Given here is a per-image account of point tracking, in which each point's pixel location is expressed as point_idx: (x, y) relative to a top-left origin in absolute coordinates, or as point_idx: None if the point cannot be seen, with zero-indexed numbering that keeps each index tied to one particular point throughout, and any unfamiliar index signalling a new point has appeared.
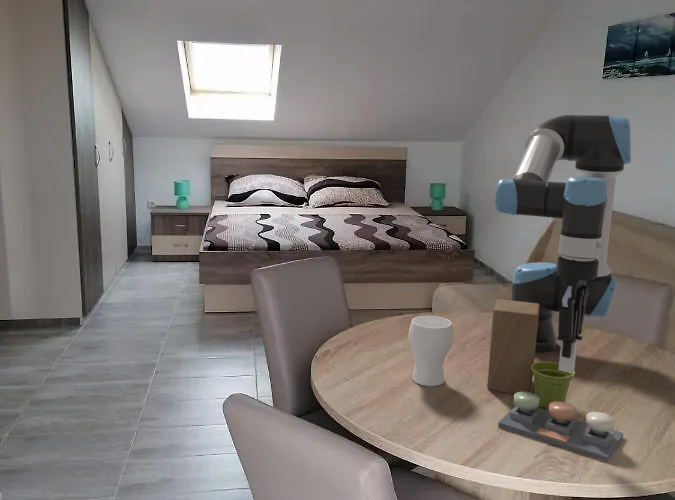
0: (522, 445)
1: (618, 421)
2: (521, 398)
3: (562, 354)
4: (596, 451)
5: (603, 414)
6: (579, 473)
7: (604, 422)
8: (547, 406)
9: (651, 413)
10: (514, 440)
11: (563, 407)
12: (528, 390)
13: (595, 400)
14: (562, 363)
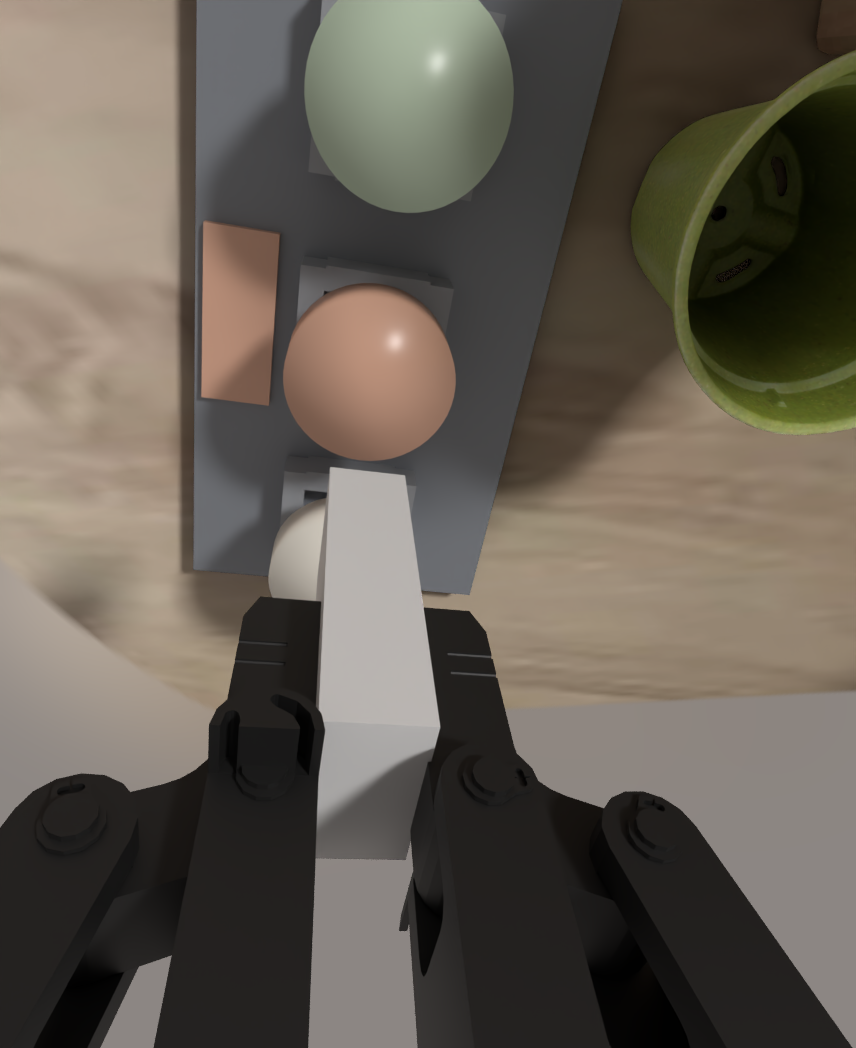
0: (64, 151)
1: (624, 552)
2: (353, 59)
3: (246, 622)
4: (212, 524)
5: None
6: (3, 472)
7: None
8: (634, 216)
9: (754, 647)
10: (90, 84)
11: (365, 391)
12: (837, 33)
13: (841, 440)
14: (324, 541)
